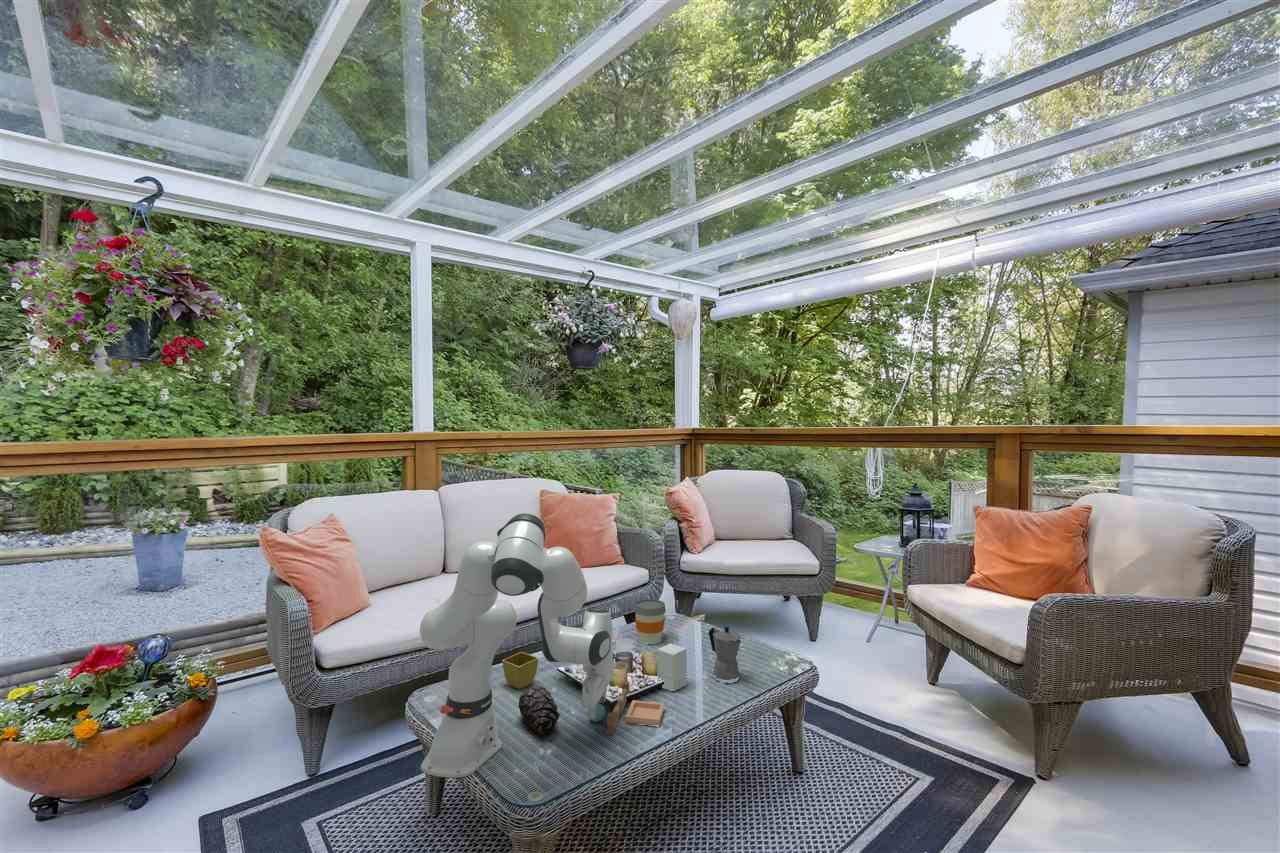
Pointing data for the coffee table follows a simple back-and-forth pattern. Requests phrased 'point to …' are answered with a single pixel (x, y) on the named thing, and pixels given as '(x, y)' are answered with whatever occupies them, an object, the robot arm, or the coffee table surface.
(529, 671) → the flower pot
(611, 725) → the fence
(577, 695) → the coffee table surface
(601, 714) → the ball
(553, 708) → the pine cone
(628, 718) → the wooden tray
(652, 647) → the coffee table surface
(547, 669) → the coffee table surface
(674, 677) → the supplement box
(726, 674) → the coffeepot
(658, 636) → the reusable coffee cup
